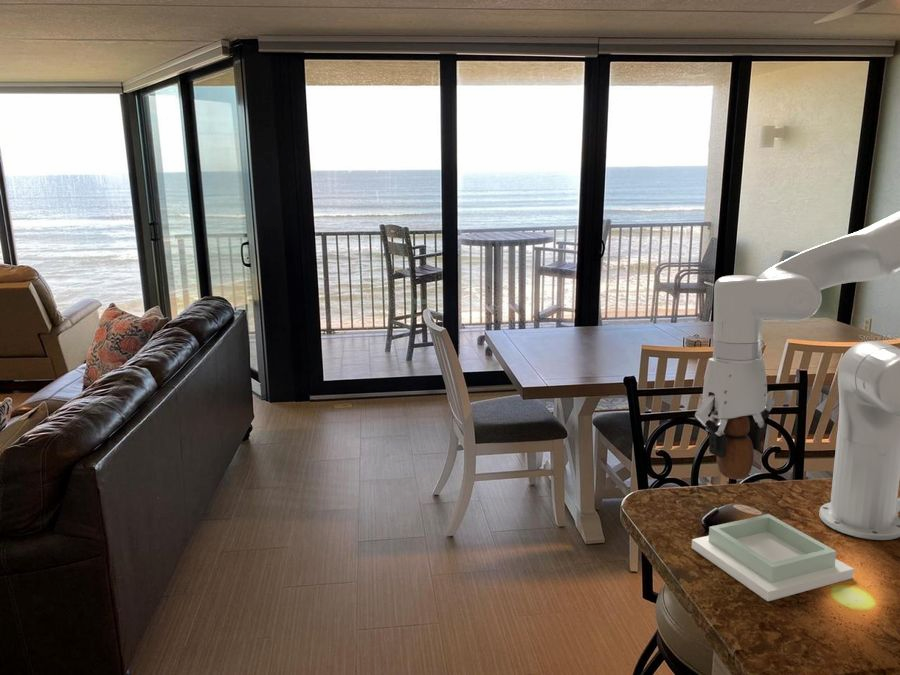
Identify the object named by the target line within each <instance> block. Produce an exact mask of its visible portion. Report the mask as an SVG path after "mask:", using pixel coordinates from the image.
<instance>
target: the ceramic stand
mask: <svg viewBox="0 0 900 675" xmlns="http://www.w3.org/2000/svg"><path fill="white" fill-rule="evenodd" d="M708 529H709V530H708V535H706V536H700V537H696V538H691V549H692V550H694V551H695V552H697V553H698V554H700V556H702V557H704V558H705V559H707V560H708V561H709V562H711V563H712V564H713V565H715V566H716V567H718V568H719V569H721V570H722V571H724V572H725V573H727V574H728V575H729V576H730V577H732V578H733V579H735V580H736V581H738V582H739V583H740V584H742V585H744V586H745V587H746V588H748V589H749V590H750V591H752V592H754V593H755V594H756V595H758V596H759V597H760V598H762V599H763V600H765V601H767V602H770V601H771V602H772V601H775V600H779V599H782V598H785V597H789V596H793V595H796V594H800V593H803V592H806V591H807V592H808V591H811V590H816V589H818V588H822V587H825V586H829V585H833V584H836V583H840V582H841V583H842V582H845V581H847V580H848V581H849V580H851V579H854V575H855V574H854V572H855V568H854V567H852V566H849V565H848V564H846V563H845V562H842V561H840V560H839V559H837V558H836V557H837V550H835V549H833V548H831V547H830V546H828V545H826V544H825V543H822V542H820V541H819V540H817V539H815V538H814V537H812V536H810V535H808V534H806V533H805V532H803V531H800V530H799V529H797V528H796V527H793V526H792V525H789V524H788V523H786V522H784V521H782V520H781V519H778V518H777V517H775V516H774V515H771V514H770V513H767V514H766V513H765V514H762V515H758V516H757V515H756V516H753V517H748V518H744V519H739V520H735V521H729V522H726V523H721V524H717V525H712V526H709V527H708Z"/></svg>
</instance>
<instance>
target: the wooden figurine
mask: <svg viewBox="0 0 900 675" xmlns="http://www.w3.org/2000/svg"><path fill="white" fill-rule="evenodd" d="M749 430H750V421H749V418H748V416H741V417H739V418H733V419H728V421H727V423H726V426H725V428H724V431H723V433H722V434H723V435H725V437H726V445H725V457H723V458H720V457H718V456H716V455H715V456H716V462H717V466H718V470H719V472H720V473H721V475H722V476H724V477H725V478H728V479H731V480H744V479H745V478H747V477H749V475H750V473H751V471H752V467H753V463H754V449H753V445H752V441H751V439H750V438H749V436H748V435H746V434H747V433H748V432H749Z"/></svg>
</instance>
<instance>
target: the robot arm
mask: <svg viewBox="0 0 900 675" xmlns="http://www.w3.org/2000/svg"><path fill="white" fill-rule="evenodd" d="M897 273H900V210H899V211H896V212H895V213H893V214H891V215H888V216H887V217H885V218H883V219H881V220H878V221H876V222H874V223H872V224H871V225H869V226H866V227H864V228H862V229H859V230H858V231H854V232H853V233H849V234H846V235H843V236H841V237H838V238H836V239H834V240H831V241H828V242H825V243H822V244H819V245H817V246H814V247H812V248H809V249H807V250H803V251H802V252H799V253H797V254H795V255H793V256H790V257H789V258H787V259H784V261H781V262H779V263H776V264H775V265H773V266H772V267H771V266H770V267H769V268H768V269H767V268H766V270H764V271H763V272H762V273H760V274H759V275H758V276H755V275H747V274H746V275H745V274H744V275H743V274H732V275H725V276H721V277H719V278H718V279H717V280H716V281H715V283H714V287H713V328H712V330H713V331H712V332H713V333H712V335H713V336H712V337H713V338H712V339H713V340H712V357H710V358H708V361H707V364H706V369H705V373H704V378H703V386H702V387H703V388H702V399H701V400H702V404H701V405H700V407H699V408H698V409H697V410H696V411H695V414H694V417H695V418H696V420H698V421H699V422H700V424H701V426H702V427H703V428H704V429H705V431H707V432H709V440H708V443H709V444H708V449H709V453H710V454H711V455H714V456H718V457H720V458H723V457H725V445H726V437H725V435H723V434H722V433H724V432H723V431H724V428H725V426H726V423H727V421H728V419H733V418H739V417H741V416H748V418H749V421H750V430H749V432H748V433H747V434H746V435H748V436H749V438H750V439H751V441H752V445H753V451H754V450H755V451H759V450H760V449H761V431H762V430H761V429H762V428H763V427H764V425H765V421H766V419H767V417H769V414H770V412H771V410H772V409H773V407H774V406H775V405H776V404H775V403H776V400H774V399H773V398H772V396H770V395H769V394H768V381H767V370H766V364H765V359H764V357H763V356H762V355H763V353H762V352H763V348H764V347H765V345H766V343H765V340H764V339H763V327H764V326H763V324H764V320H768V321H777V322H778V321H779V322H787V323H788V322H789V323H792V322H795V323H796V322H802V321H804V320H807V319H809V318H811V317H812V316H814V315H815V314H816V313H817V312H818V311H819V309H820V307H821V305H822V302H823V300H822V299H823V297H822V296H823V295H822V291H823V290H825V289H827V288H831V287H835V286H838V285H842V284H848V283H849V284H850V283H856V282H857V283H859V282H870V281H876V280H880V279H885V278H888V277H889V278H890V277H891V276H893V275H895V274H897ZM837 384H838V397H839V399H838V400H839V404H838V405H839V408H838V410H839V411H838V422H837V423H838V424H837V432H836V443H835V455H834V462H833V471H832V472H833V474H832V475H833V476H832V483H831V492H830V502H827V503H824V504H823V505H821V506H820V508H819V512H818V513H819V514H818V515H819V518H820V520H821V521H822V522H823V523H824V524H825V525H826V526H828V527H829V528H831V529H833V530H834V531H837V532H839V533H842V534H844V535H845V534H846V535H848V536H850V537H851V536H852V537H855V538H860V539H864V540H872V541H874V540H875V541H890V540H895V539H898V538H900V517H899V512H900V497H898V496H899V486H900V347H897V346H894V345H892V344H889V343H886V342H883V341H875V340H873V341H872V340H868V341H862V342H858V343H856V344H854V345H853V346H851V347H850V348H848V350H846V351H845V353H844V354H843V355H842V357H841V360H839V365H838V370H837ZM709 415H710V416H709ZM718 420H719V421H718ZM717 421H718V422H717Z"/></svg>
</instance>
